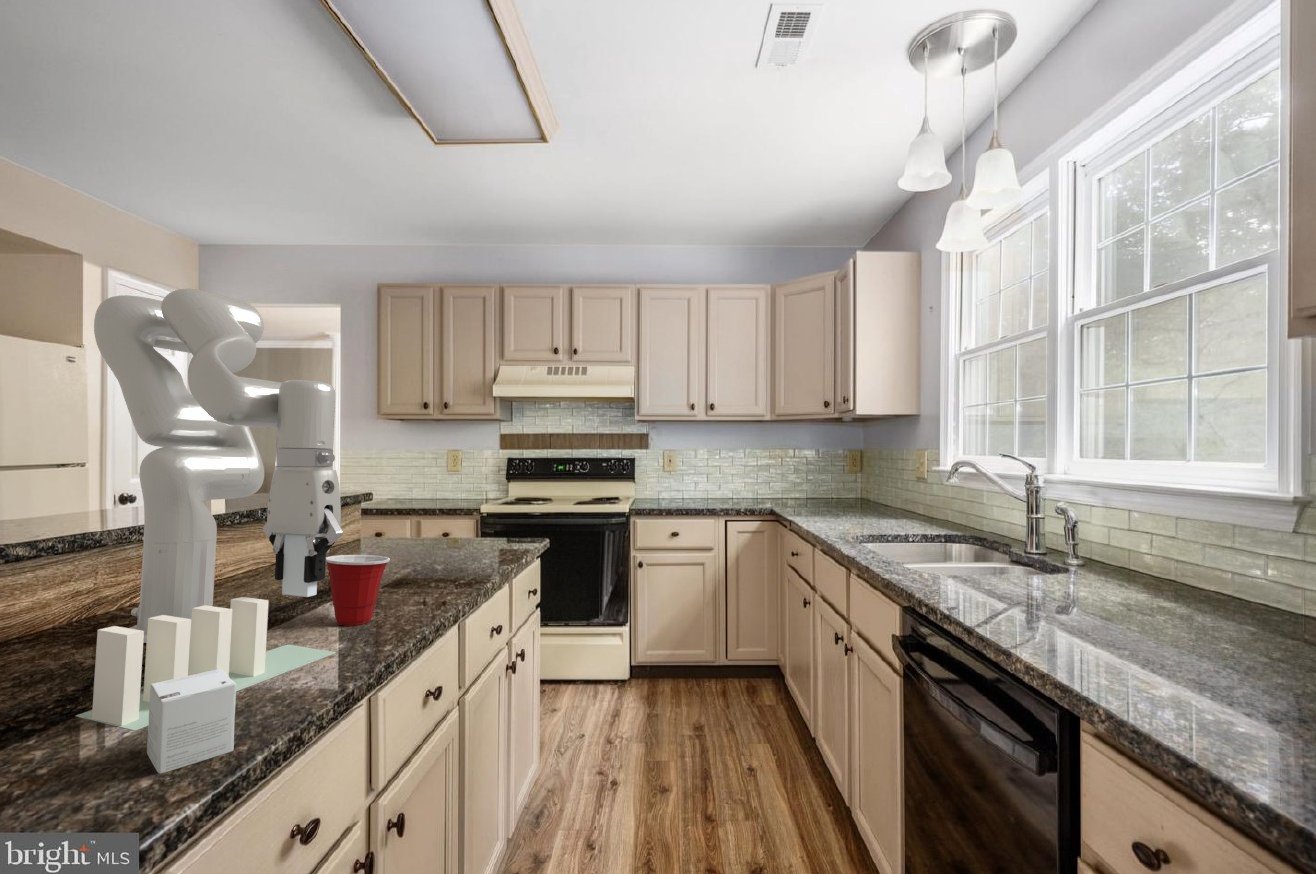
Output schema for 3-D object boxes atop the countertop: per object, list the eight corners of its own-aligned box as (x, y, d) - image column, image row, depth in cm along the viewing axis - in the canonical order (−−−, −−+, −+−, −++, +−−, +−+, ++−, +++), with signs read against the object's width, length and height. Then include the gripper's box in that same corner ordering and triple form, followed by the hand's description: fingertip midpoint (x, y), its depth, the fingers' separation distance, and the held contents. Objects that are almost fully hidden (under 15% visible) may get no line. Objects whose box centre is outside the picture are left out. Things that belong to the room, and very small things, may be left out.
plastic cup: (399, 619, 106) (402, 555, 106) (341, 634, 96) (345, 564, 97) (367, 610, 111) (370, 549, 112) (309, 622, 102) (312, 556, 103)
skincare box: (218, 734, 62) (222, 666, 62) (234, 754, 58) (238, 682, 58) (144, 756, 57) (148, 682, 58) (156, 779, 53) (161, 700, 54)
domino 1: (91, 718, 64) (97, 629, 64) (109, 712, 65) (114, 625, 66) (121, 725, 62) (127, 635, 63) (138, 719, 64) (143, 631, 64)
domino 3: (187, 685, 73) (192, 608, 74) (200, 680, 75) (205, 605, 75) (215, 690, 72) (219, 612, 72) (228, 686, 74) (232, 609, 74)
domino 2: (143, 700, 69) (148, 618, 69) (158, 695, 70) (162, 614, 71) (171, 707, 67) (176, 622, 68) (186, 701, 69) (191, 619, 69)
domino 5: (281, 594, 86) (284, 528, 86) (291, 591, 87) (294, 527, 88) (307, 597, 84) (309, 530, 85) (316, 594, 86) (319, 528, 86)
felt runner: (75, 718, 64) (75, 715, 64) (287, 646, 90) (287, 644, 90) (134, 733, 62) (134, 730, 62) (336, 654, 87) (336, 652, 87)
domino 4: (226, 671, 78) (230, 599, 79) (238, 667, 80) (242, 596, 80) (253, 676, 77) (257, 603, 77) (264, 672, 78) (268, 600, 79)
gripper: (368, 461, 88) (364, 579, 87) (285, 460, 93) (280, 571, 92) (327, 461, 80) (322, 589, 80) (239, 459, 85) (234, 580, 85)
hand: (300, 578), depth 86 cm, fingers closed on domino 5, 4 cm apart
